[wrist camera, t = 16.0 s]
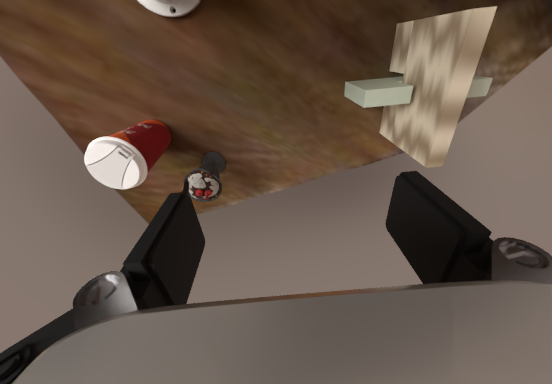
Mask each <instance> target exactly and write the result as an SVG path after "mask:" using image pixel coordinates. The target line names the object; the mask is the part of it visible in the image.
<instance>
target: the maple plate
mask: <svg viewBox="0 0 552 384" xmlns="http://www.w3.org/2000/svg"><path fill="white" fill-rule="evenodd" d="M496 9H497V6H495V7H485V8H476V9H470V10H464V11H459V12H454V13H449V14H444V15H439V16H434V17H429V18H424V19H419V20H414V21H409V22H403V23H398V24H397V28H396V34H395V40H394V46H393V52H392V59H391V65H390V71H391V72H397V73H403V74H404V76H403V81H402V83H405V84H409V85H413V90H412V95H411V100H410V103H408V104H398V105H387V106H384V108H383V115H382V121H381V127H380V134H381V135H383V136H384V137H386V138H387V139H388V140H390V141H391V142H392V143H394V144H395V145H396V146H398V147H399V148H400V149H402V150H403V151H404V152H406V153H407V154H408V155H410V156H411V157H412V158H414V159H415V160H417V161H418V162H419V163H421V164H422V165H423V166H425V167H426V168H428V167H439V166H443V164H444V161H445V158H446V156H447V152H448V150H449V147H450V144H451V141H452V138H453V135H454V132H455V129H456V126H457V123H458V120H459V117H460V114H461V112H462V109H463V106H464V103H465V100H466V97H467V94H468V91H469V88H470V85H471V82H472V79H473V76H474V73H475V70H476V67H477V65H478V62H479V59H480V56H481V53H482V50H483V47H484V44H485V41H486V38H487V35H488V32H489V29H490V26H491V23H492V20H493V18H494V15H495V12H496Z"/></svg>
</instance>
